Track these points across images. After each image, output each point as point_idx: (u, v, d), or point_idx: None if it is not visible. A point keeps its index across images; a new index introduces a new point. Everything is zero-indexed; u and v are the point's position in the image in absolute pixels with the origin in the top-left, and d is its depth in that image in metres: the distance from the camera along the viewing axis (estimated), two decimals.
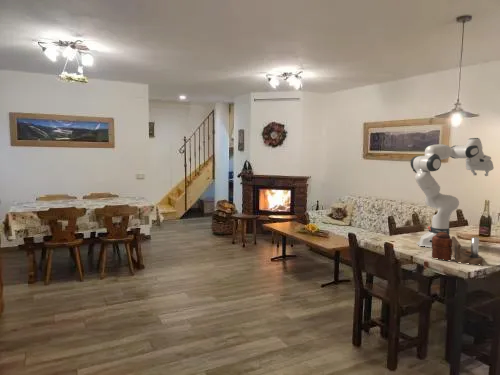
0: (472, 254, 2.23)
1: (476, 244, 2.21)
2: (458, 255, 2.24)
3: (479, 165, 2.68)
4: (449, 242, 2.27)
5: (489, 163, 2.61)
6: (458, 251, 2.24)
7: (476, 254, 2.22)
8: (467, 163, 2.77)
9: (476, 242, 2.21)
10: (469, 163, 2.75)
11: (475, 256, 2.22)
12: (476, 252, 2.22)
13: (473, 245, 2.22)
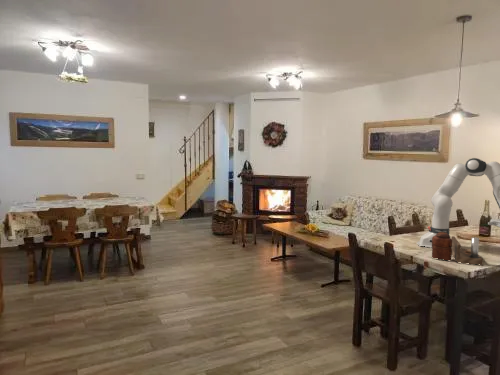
0: (472, 254, 2.23)
1: (476, 244, 2.21)
2: (458, 255, 2.24)
3: None
4: (449, 242, 2.27)
5: None
6: (458, 251, 2.24)
7: (476, 254, 2.22)
8: None
9: (476, 242, 2.21)
10: None
11: (475, 256, 2.22)
12: (476, 252, 2.22)
13: (473, 245, 2.22)
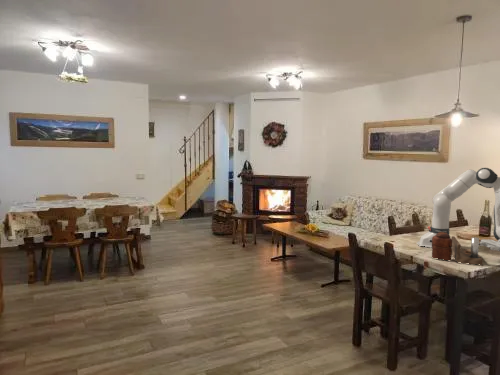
0: (472, 254, 2.23)
1: (476, 244, 2.21)
2: (458, 255, 2.24)
3: (499, 244, 2.23)
4: (449, 242, 2.27)
5: None
6: (458, 251, 2.24)
7: (476, 254, 2.22)
8: None
9: (476, 242, 2.21)
10: (492, 240, 2.31)
11: (475, 256, 2.22)
12: (476, 252, 2.22)
13: (473, 245, 2.22)
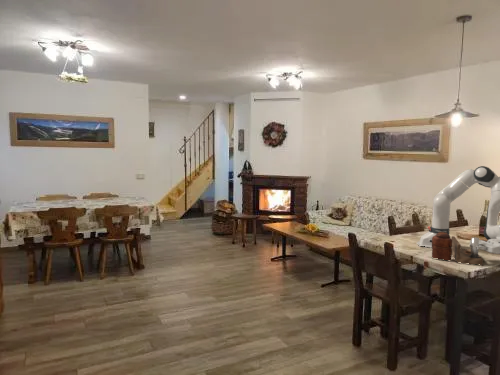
0: (472, 254, 2.23)
1: (476, 244, 2.21)
2: (458, 255, 2.24)
3: (489, 244, 2.22)
4: (449, 242, 2.27)
5: None
6: (458, 251, 2.24)
7: (476, 254, 2.22)
8: (479, 240, 2.32)
9: (476, 242, 2.21)
10: (481, 241, 2.30)
11: (475, 256, 2.22)
12: (476, 252, 2.22)
13: (473, 245, 2.22)
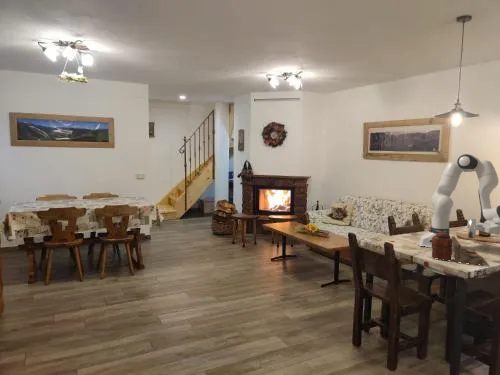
0: (469, 235, 2.31)
1: (473, 225, 2.30)
2: (458, 255, 2.24)
3: (485, 225, 2.30)
4: (449, 242, 2.27)
5: (496, 229, 2.23)
6: (458, 251, 2.24)
7: (473, 235, 2.30)
8: (477, 222, 2.40)
9: (473, 223, 2.29)
10: (479, 222, 2.38)
11: (472, 237, 2.30)
12: (473, 233, 2.30)
13: (470, 226, 2.30)
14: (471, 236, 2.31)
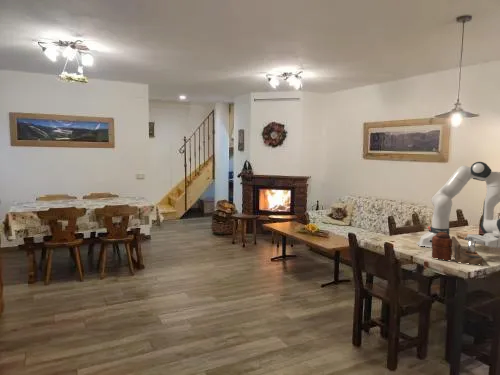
0: None
1: (472, 247, 2.31)
2: (458, 255, 2.24)
3: (485, 238, 2.31)
4: (449, 242, 2.27)
5: (496, 242, 2.24)
6: (458, 251, 2.24)
7: None
8: (476, 234, 2.41)
9: (472, 245, 2.31)
10: (478, 235, 2.39)
11: None
12: None
13: (470, 248, 2.32)
14: None
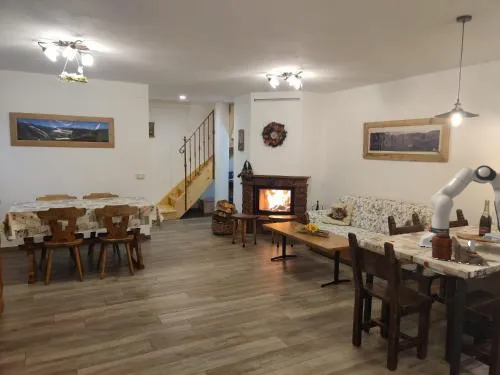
0: None
1: (472, 247, 2.31)
2: (458, 255, 2.24)
3: None
4: (449, 242, 2.27)
5: None
6: (458, 251, 2.24)
7: None
8: (494, 233, 2.42)
9: (472, 245, 2.31)
10: (496, 234, 2.40)
11: None
12: None
13: (469, 248, 2.32)
14: None
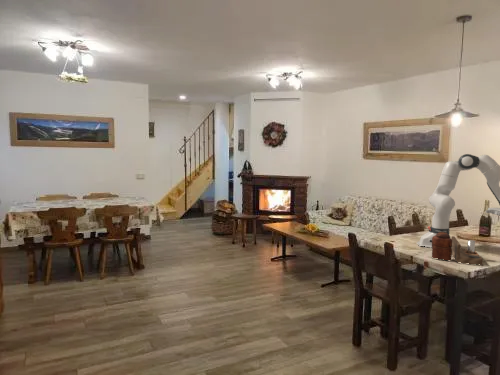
0: None
1: (472, 247, 2.31)
2: (458, 255, 2.24)
3: None
4: (449, 242, 2.27)
5: None
6: (458, 251, 2.24)
7: None
8: None
9: (472, 245, 2.31)
10: (499, 208, 2.40)
11: None
12: None
13: (469, 248, 2.32)
14: None
